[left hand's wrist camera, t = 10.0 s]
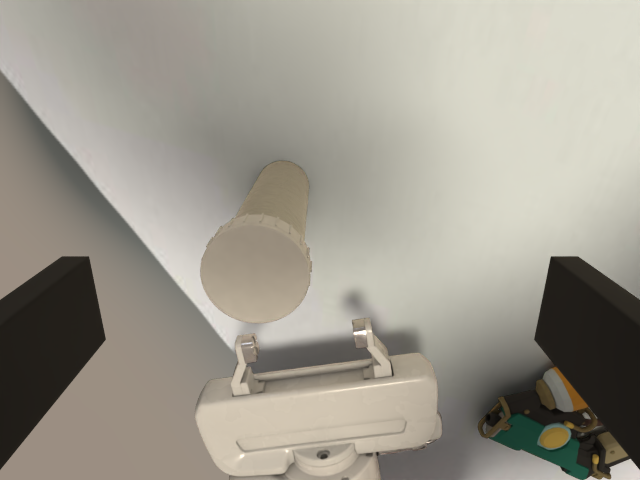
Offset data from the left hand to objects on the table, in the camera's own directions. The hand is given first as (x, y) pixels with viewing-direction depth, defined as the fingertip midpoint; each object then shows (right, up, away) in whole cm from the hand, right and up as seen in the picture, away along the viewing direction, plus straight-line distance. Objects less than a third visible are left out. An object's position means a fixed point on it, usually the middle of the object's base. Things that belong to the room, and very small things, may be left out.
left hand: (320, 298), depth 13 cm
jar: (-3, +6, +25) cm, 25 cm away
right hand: (-1, -5, +22) cm, 23 cm away
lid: (-3, 0, +9) cm, 9 cm away
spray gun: (+26, -16, +33) cm, 45 cm away
